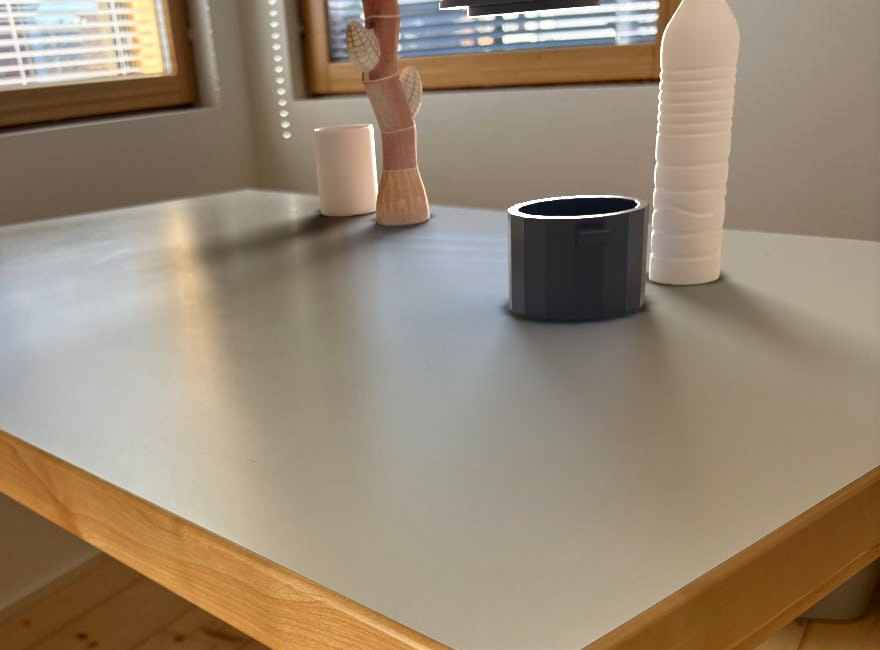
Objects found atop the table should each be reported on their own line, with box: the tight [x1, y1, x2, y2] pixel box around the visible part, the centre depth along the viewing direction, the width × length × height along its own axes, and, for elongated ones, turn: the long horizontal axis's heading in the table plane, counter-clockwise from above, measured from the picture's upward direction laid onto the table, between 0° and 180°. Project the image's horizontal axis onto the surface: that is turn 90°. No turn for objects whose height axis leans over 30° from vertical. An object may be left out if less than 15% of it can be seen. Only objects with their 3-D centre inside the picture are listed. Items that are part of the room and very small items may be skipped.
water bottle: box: [648, 0, 741, 286], centre depth 92 cm, size 9×6×25 cm
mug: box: [312, 123, 379, 217], centre depth 148 cm, size 12×8×11 cm
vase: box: [345, 0, 431, 227], centre depth 131 cm, size 10×7×30 cm
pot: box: [507, 195, 650, 323], centre depth 89 cm, size 12×17×8 cm
